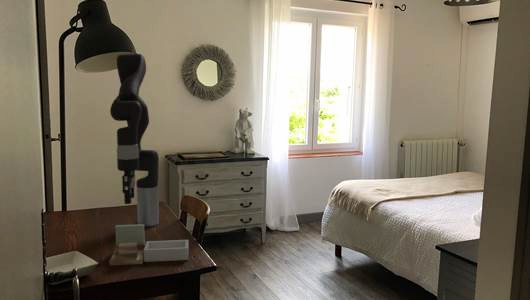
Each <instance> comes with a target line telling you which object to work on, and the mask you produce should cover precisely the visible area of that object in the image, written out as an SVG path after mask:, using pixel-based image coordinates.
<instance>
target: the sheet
mask: <svg viewBox="0 0 530 300" xmlns="http://www.w3.org/2000/svg"><path fill="white" fill-rule="evenodd" d="M114 228H115V229H114V230H115V245H119V244H124V243H136V242H137V244H145V242H146V240H145V237H146V235H145V226H144V224H138V223H137V224H116V225H115V227H114Z"/></svg>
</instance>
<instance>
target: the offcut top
mask: <svg viewBox="0 0 530 300" xmlns="http://www.w3.org/2000/svg"><path fill="white" fill-rule="evenodd" d="M127 253H137V242H136V243H124V244H119V254H127Z"/></svg>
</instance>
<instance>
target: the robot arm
mask: <svg viewBox="0 0 530 300" xmlns="http://www.w3.org/2000/svg"><path fill="white" fill-rule="evenodd" d="M116 68H117V74H118V78H119V82H120V87H119V91H118V95H117V96H116V98H115V99H114V100H113V101H112V104H111V106H110V111H109V112H110V116H111V117H112V119H113V120H115V121H117V122H126V124H127V126H124V127H120V128H118V129H117V130H116V140H117V141H116V144H117V147H116V165H117V170H118V171H119V172H123V175H122V177H121V179H122V180H121V182H122V184H121V185H122V191H121V192H122V194H124V195H123V196H124V197H123V198H124V199H123V200H124V204H125V205H130V204H132V199H134V198H135V187H136V204H137V205H136V207H137V208H136V209H137V225H138V224H144V227H154V226H157V225H159V223H160V219H159V218H160V214H159V213H160V211H159V209H160V206H159V162H160V161H159V160H160V159H159V157H160V156H159V153H158V152H157V150H154V149H142V144H141V141H142V139H143V137H144V135H145V132H146V130H147V128H148V126H149V123H150V115H149V108H148V106H147V104H146V103H145V101H144V100H143V98H142V97H141V96H140V88H141V86H142V83H143V82H144V78H145V76H146V72H147V63H146V58H145V56H144V55H143V54H141V53H129V54H128V53H127V54H125V53H124V54H119V55H118V56H116ZM136 171H138V172H147V175H146V176H144V177H141V178H138V179H137V180H136V173H135V172H136Z"/></svg>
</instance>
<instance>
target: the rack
mask: <svg viewBox="0 0 530 300" xmlns="http://www.w3.org/2000/svg"><path fill="white" fill-rule="evenodd" d="M146 242H147V241H145V244H137V249H138V257H137V260H125V261H115V253H116V251H117V250H119V245H116V244H115V245H114V246H113V248H114V251H113V253H112V255H111V258H110V259H109V261H108V263H109V266H125V265H127V266H128V265H131V266H132V265H142V264H143V263H144V248H145V245H146Z"/></svg>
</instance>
